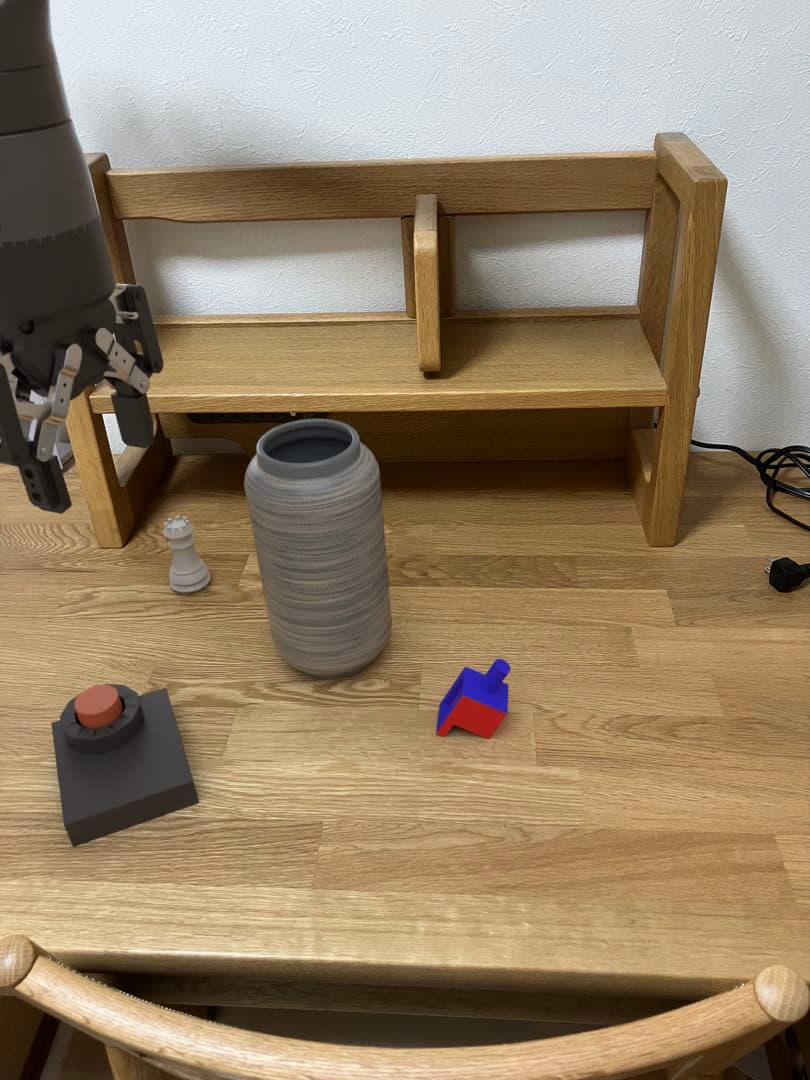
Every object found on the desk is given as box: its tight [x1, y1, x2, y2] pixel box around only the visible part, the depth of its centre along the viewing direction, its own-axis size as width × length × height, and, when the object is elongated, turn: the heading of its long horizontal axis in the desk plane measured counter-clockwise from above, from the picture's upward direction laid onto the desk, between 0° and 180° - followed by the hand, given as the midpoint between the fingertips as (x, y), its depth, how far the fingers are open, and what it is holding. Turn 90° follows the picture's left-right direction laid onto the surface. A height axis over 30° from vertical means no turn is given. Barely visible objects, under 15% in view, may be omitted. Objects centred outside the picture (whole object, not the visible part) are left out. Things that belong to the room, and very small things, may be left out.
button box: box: [51, 683, 200, 848], centre depth 75 cm, size 13×10×4 cm
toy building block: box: [435, 658, 512, 740], centre depth 77 cm, size 4×4×8 cm
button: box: [74, 684, 123, 729], centre depth 76 cm, size 4×4×2 cm
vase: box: [243, 418, 393, 680], centre depth 81 cm, size 12×12×23 cm
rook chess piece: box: [162, 515, 212, 595], centre depth 96 cm, size 4×4×8 cm
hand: (99, 475), depth 58 cm, fingers open, 8 cm apart
